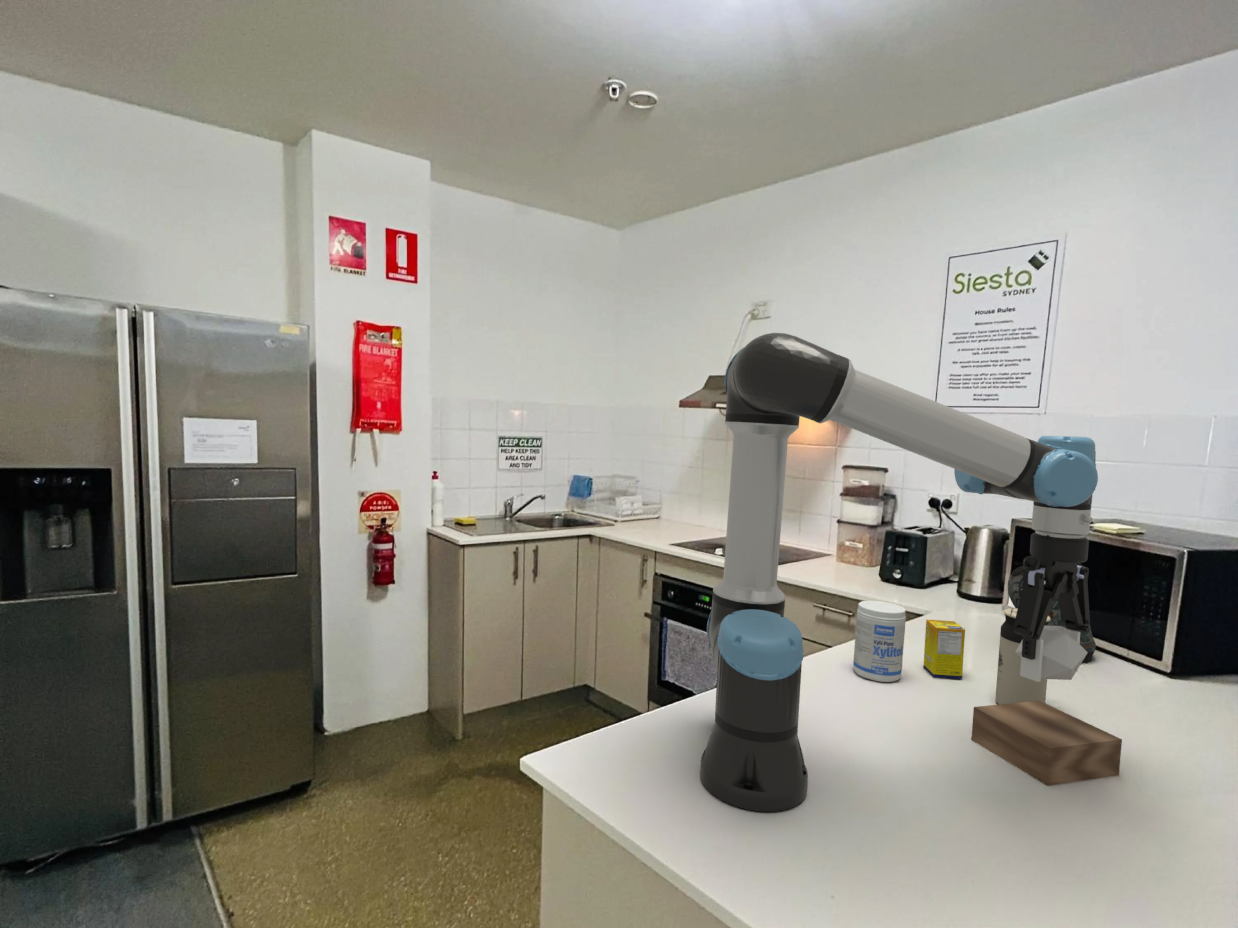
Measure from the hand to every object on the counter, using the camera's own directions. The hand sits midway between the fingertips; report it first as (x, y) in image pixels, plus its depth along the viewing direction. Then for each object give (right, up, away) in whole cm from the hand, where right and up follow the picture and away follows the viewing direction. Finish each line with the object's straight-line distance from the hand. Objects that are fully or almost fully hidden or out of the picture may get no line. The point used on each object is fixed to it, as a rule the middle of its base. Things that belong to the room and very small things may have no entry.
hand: (1048, 673), depth 102 cm
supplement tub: (-14, -11, +33) cm, 38 cm away
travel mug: (+8, -13, +20) cm, 25 cm away
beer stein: (+35, -12, +52) cm, 64 cm away
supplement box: (+1, -12, +35) cm, 37 cm away
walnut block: (-1, -14, +1) cm, 14 cm away
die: (0, -1, 0) cm, 1 cm away
